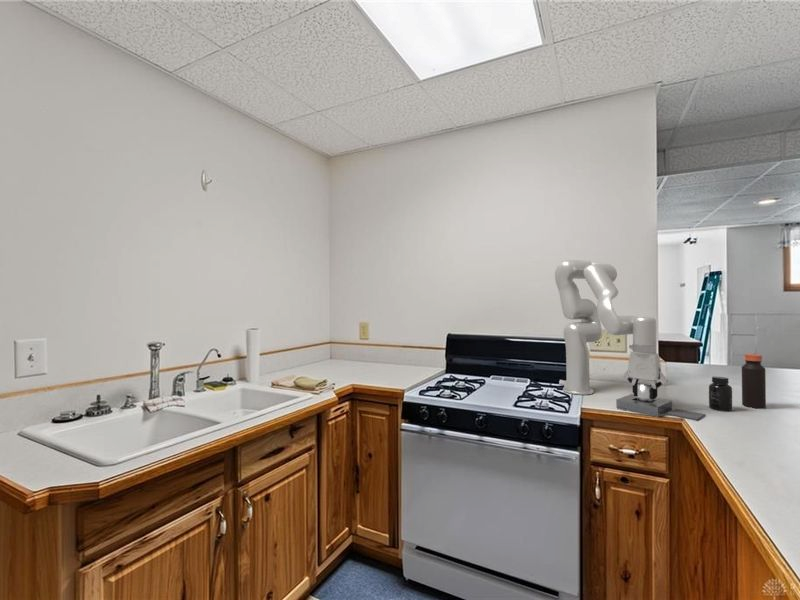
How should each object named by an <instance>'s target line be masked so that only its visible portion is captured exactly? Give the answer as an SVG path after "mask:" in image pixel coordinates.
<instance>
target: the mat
mask: <svg viewBox="0 0 800 600" xmlns="http://www.w3.org/2000/svg"><path fill="white" fill-rule="evenodd" d="M666 415H667V416H672V417H675V418H682V419H685V420H691V421H696V422H698V421H699V420H701V419H703V418H705V416H706V413H701V412H697V411H696V412H695V411H691V410H686V409H684V410H683V409H679V408H674V409H672V410H671V411H669V412H667V413H666Z"/></svg>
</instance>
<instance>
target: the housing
mask: <svg viewBox="0 0 800 600" xmlns="http://www.w3.org/2000/svg"><path fill="white" fill-rule="evenodd" d="M615 404H616V408H617V409H618V410H622V411H627V412H631V413H636V414H642V415H647V416H650V417H655V418H659V417H661V416H663V415H665V414H667V413H668V412H670V411H672V410H673V401H672V400H670V399H663V398H659V397H656V398H655V399H653V402H652V403H646V402H640V401H637V396H634V393H631V394H628V395H624V396H622V397H620V398H617V399H616V403H615ZM616 408H615V409H616Z"/></svg>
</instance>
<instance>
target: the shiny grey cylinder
mask: <svg viewBox="0 0 800 600" xmlns="http://www.w3.org/2000/svg"><path fill="white" fill-rule="evenodd" d="M651 389H652V385H651V382H638V383H637V401H640V402H646V403H652V402H653V399H651Z"/></svg>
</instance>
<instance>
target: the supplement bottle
mask: <svg viewBox="0 0 800 600" xmlns="http://www.w3.org/2000/svg"><path fill="white" fill-rule="evenodd" d="M711 382H712V383H710V384H709V385H708V408H710V409H711V410H715V411H720V412H731V411H732V410H733V388H732V386H731V385H729V377H724V376H712V377H711Z"/></svg>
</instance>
